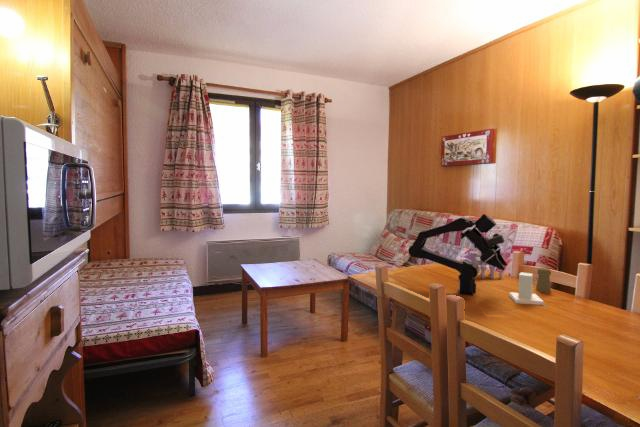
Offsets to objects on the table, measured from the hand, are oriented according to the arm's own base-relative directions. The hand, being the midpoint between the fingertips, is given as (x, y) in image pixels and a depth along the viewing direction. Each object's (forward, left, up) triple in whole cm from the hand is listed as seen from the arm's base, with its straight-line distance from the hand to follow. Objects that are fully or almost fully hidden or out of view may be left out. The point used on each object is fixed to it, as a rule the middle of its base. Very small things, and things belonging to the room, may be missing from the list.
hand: (505, 267), depth 149 cm
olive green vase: (+20, +13, -14) cm, 27 cm away
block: (+7, -3, -11) cm, 14 cm away
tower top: (+8, -3, -13) cm, 15 cm away
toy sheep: (-2, +36, -14) cm, 39 cm away
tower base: (+8, -3, -14) cm, 16 cm away
